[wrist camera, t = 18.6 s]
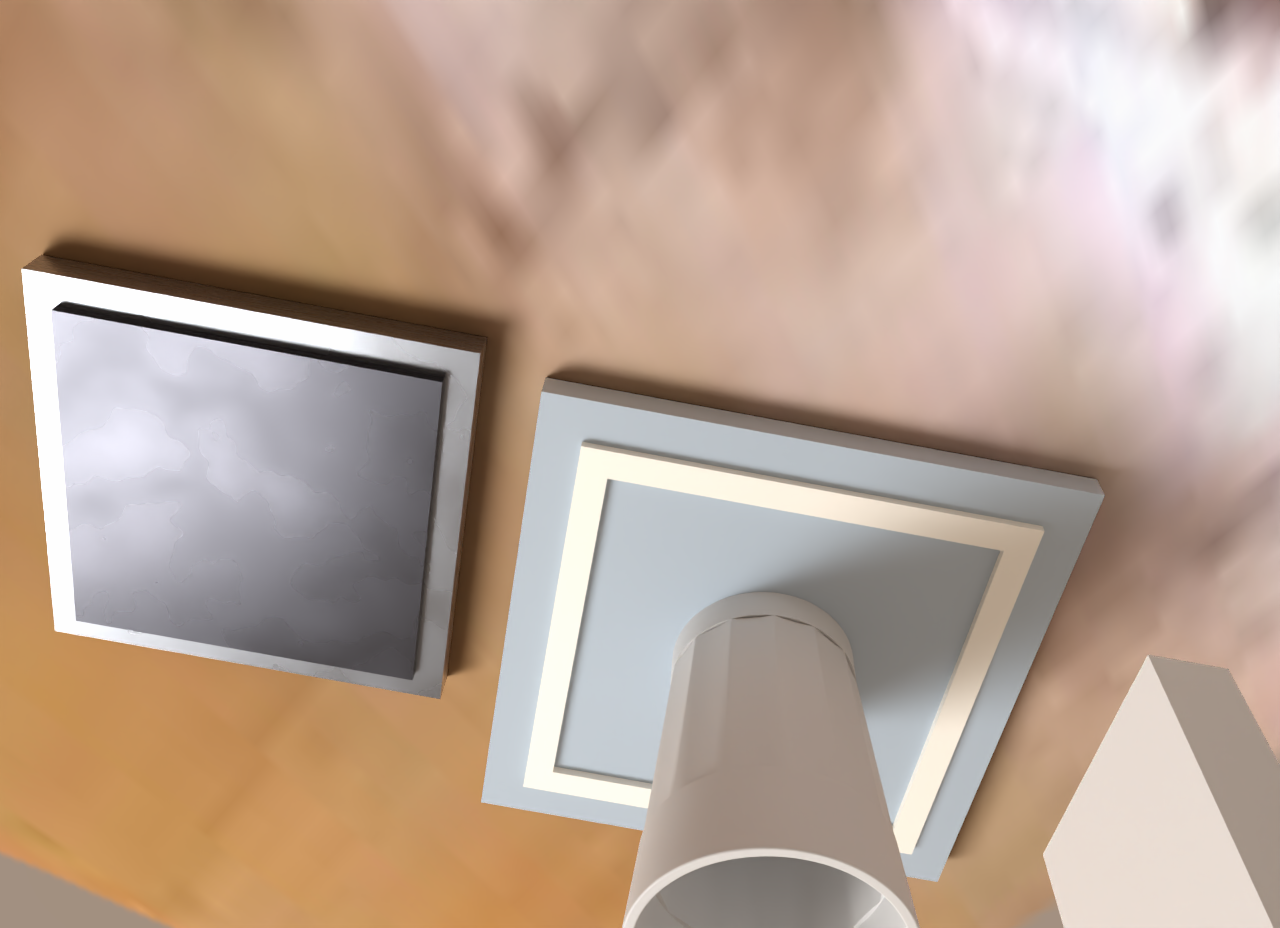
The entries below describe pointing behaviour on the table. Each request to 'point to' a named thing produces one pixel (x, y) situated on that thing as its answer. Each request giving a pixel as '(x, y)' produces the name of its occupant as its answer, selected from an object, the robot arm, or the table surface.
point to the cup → (766, 782)
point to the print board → (769, 562)
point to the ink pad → (251, 474)
